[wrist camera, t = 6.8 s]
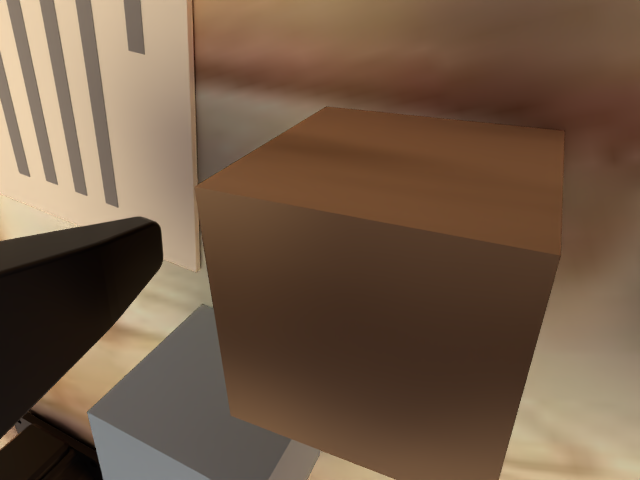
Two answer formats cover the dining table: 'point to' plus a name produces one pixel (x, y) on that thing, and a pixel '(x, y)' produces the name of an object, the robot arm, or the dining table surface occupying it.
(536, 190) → the walnut block
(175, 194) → the letter
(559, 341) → the dining table surface
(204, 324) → the gray cube
